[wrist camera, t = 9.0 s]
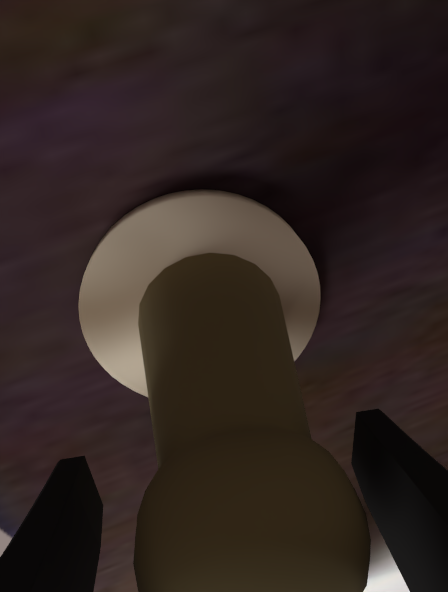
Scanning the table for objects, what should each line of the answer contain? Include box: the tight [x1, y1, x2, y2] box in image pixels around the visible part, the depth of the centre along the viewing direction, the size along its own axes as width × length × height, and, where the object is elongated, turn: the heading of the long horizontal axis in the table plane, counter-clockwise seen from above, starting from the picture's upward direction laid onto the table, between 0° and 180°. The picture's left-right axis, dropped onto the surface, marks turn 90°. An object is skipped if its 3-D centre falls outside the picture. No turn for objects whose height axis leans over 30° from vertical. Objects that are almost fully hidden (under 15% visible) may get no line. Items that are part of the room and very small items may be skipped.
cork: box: [133, 253, 371, 592], centre depth 13 cm, size 6×6×11 cm
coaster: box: [79, 189, 321, 397], centre depth 18 cm, size 10×10×1 cm
